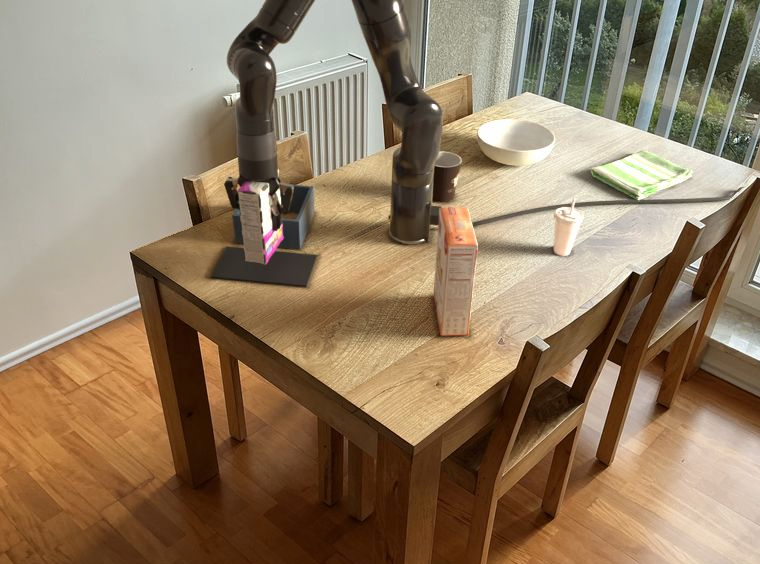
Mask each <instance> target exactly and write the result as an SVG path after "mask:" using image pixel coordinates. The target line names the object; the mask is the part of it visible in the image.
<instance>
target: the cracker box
mask: <svg viewBox="0 0 760 564" xmlns="http://www.w3.org/2000/svg"><path fill="white" fill-rule="evenodd" d="M441 207H442V206H441ZM472 223H473V222H472V219H471V214H470V211H469V207H466V206H465V207H464V206H463V207H462V206H460V207H458V206H455V207H453V206H452V207H449V206H448V207H447V206H443V207H442V208H439V220H438V225H437V237H436V238H437V239H436V250H435V254H436V255H435V266H434V267H435V269H434V281H433V298H434V306H435V311H436V318H437V324H438V329H439V335H440V336H441V337H446V336H449V337H450V336H451V337H452V336H453V337H454V336H455V337H456V336H469V333H470V323H471V313H472V305H473V304H472V303H473V295H474V284H475V276H476V267H477V260H478V259H477V258H478V251H479V249H478V248H479V244H478V241H477V238H476V237H477V236H476V234H475V230H474V226H473V225H472Z"/></svg>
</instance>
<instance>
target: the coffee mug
mask: <svg viewBox="0 0 760 564" xmlns="http://www.w3.org/2000/svg"><path fill="white" fill-rule="evenodd" d="M462 162H463V158H462V157H461V156H459V155H458V154H456V153H453V152H450V151H444V150H443V151H441V150H440V151H439V155H438V157H437V159H436V161H435V167H434V181H433V202H436V203H443V204H444V203H449V202H451V201H453V200H454V199H455V193H456V189H457V184H458V181H459V175H460V171H461V166H462Z"/></svg>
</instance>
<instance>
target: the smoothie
mask: <svg viewBox="0 0 760 564" xmlns="http://www.w3.org/2000/svg"><path fill="white" fill-rule="evenodd" d="M576 197H577V196H573V197H572V200H571V203H572V205H571V207H561V208H558V209H555V210H554V214H553V218H554V219H555V220H554V236H553V237H554V240H553V252H554V254H556V255H558V256H561V257H562V256H563V257H566V256H568V255H570V254H571V251H572V248H573V245H574V243H575V240H576V237H577V234H578V232H579V229H580V226H581V223H583V220H584V213H583V212H582V211H581V210H579V209H577V208H575V207H574V203H576Z"/></svg>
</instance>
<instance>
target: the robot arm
mask: <svg viewBox="0 0 760 564" xmlns="http://www.w3.org/2000/svg"><path fill="white" fill-rule="evenodd" d="M314 3H316V0H264V2H263V4H262V6H261V7H260V9H259V11H258V13H257V15H256V16H255V17H254V18H253V19H252V20H251V21H249V23H248V24H247V25H246V26H245V27H244V28H243V29H242V30H241V31H240V32H239V33H238V34H237V36H236V37H235V38H234V40H233V41H232V43H231V44H230V47H229V49H228V51H227V55H226V66H227V68H228V71H229V72H230V73H231V75H232V76H233V77H235V78H236V80H237V81H238V84H239V85H238V86H239V97H237V100H236V101H235V105H234V114H235V126H236V137H235V138H236V139H235V141H236V154H237V164H238V166H237V167H238V177H232V176H228V177H227V178H226V180H225V181H224V183H223V186H224V188H225V192H226V195H227V198H228V201H229V204H230V207H231V208H232V209H233V210H236V209H239V200H238V192H237V191H238V189H237V188H238V186H239V188H240V187H241V186H242V185H243V184H244V182H245V181H256V182H265V183H269V189H270V193H268V194H269V201H270V202H269V204H270V207H271V209H272V212H273V230H274V231H278V229H280V227H281V224H282V218H283V214H284V215H287V214H288V213H289V212H288V211H289V209H290V206H291V201H292V196H293V191H294V186H295V185H296V184H294V183H293V182H289V183H286V182H282V180H281V178H280V175H279V176H278V169H279V164H278V162H279V161H278V144H277V136H276V130H275V117H274V116H275V115H274V102H275V97H276V90H277V80H278V79H277V77H278V76H277V67H276V64H275V61H274V60H273V58H272V56H271V55H270V54H271V53H272V52H273V50H275V48H276V47H277V46H278V45H279V44H281V45H285V44H288V43H289V42H290V41H291V40H292V39H293V37H294V35H295V34H296V32H297V30H298V29H299V27H300V25H301V24H302V22H303V21H304V19H305V18H306V16H307V14H308V12H309V11H310V9H311V8H312V7H313V5H314ZM351 3H352V6H353V9H354V13H355V16H356V19H357V23H358V25H359V28H360V31H361V34H362V36H363V39H364V42H365V44H366V47H367V49H368V51H369V54H370V56H371V60H372V62H373V64H374V66H375V68H376V72H377V73H378V77H379V79H380V83H381V88H382V91H383V95H384V100H385V101H384V102H385V105H386V110H387V113H388V116H389V119H390V121H391V123H392V124H393V125H394V126H395V127H396V128H397V130H399V131H400V132H401V142H400V143H401V144H400V146H399V147H398V148H396V149H395V150H394V151H393V153H392V158H391V159H392V161H391V184H390V185H391V186H390V207H389V208H390V211H389V212H390V213H389V215H388V220H389V229H388V235H389V237H390V238H391V240H393V241H395V242H397V243H400V244H403V245H418V244H419V245H420V244H423V243H429V241H430V237H431V228H432V227H431V226H438V220H439V208H442V206H441V205H433V202H434V201H433V181H434V167H435V161H436V159H437V157H438V155H439V152H440V151H441V143H442V136H443V135H442V134H443V127H444V125H443V123H444V115H443V110H442V107H441V105H440V104H439V102H438V101H436V100H435V99H434V98H433V97H431V96H430V95H429V94H428V93H426V91H424V89H423V88H422V86H421V84H420V82H419V80H418V78H417V75H416V72H415V70H414V66H413V63H412V57H411V47H412V29H411V23H410V19H409V16H408V13H407V9H406V6H405V3H404V0H351ZM744 187H745V186H741V187H739V188H737V189H736V191H734V192H733V193H732V194H730V195H727V196H717V197H697V198H695V197H694V198H663V199H661V198H660V199H658V198H657V199H656V198H655V199H654V198H653V199H641V200H637V199H617V200H616V199H615V200H595V201H581V202H575V203H574V208H575V207H585V206H602V205H603V206H604V205H624V204H625V205H628V204H629V205H630V204H635V205H636V204H677V203H678V204H679V203H701V202H704V203H705V202H723V201H728V200H731V199H730V198H732V197H733V196H734V195H735V194H736V193H737V192H739V191H740V190H741V189H742V188H744ZM279 188H280V189H281V190H282V193H283V195H285V198H284V203H283V205H281V204H280V202H279V200H278V196H277V193H276V192H277V190H278V189H279ZM273 195H274V198H273V199H272V197H273ZM732 199H733V198H732ZM571 205H572V202H570V203H562V204H555V205H554V204H553V205H548V206H542V207H535V208H530V209H525V210H520V211H515V212H511V213H507V214H503V215H500V216H495V217H492V218H487V219H483V220H478V221H473V222H472V225H473V227H476V226H481V225H487V224H491V223H493V222H497V221H502V220H505V219H511V218H514V217H519V216H522V215H528V214H533V213H538V212H544V211H545V212H546V211H551V210H557V209H558V208H561V207H571ZM281 214H282V215H281Z"/></svg>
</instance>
